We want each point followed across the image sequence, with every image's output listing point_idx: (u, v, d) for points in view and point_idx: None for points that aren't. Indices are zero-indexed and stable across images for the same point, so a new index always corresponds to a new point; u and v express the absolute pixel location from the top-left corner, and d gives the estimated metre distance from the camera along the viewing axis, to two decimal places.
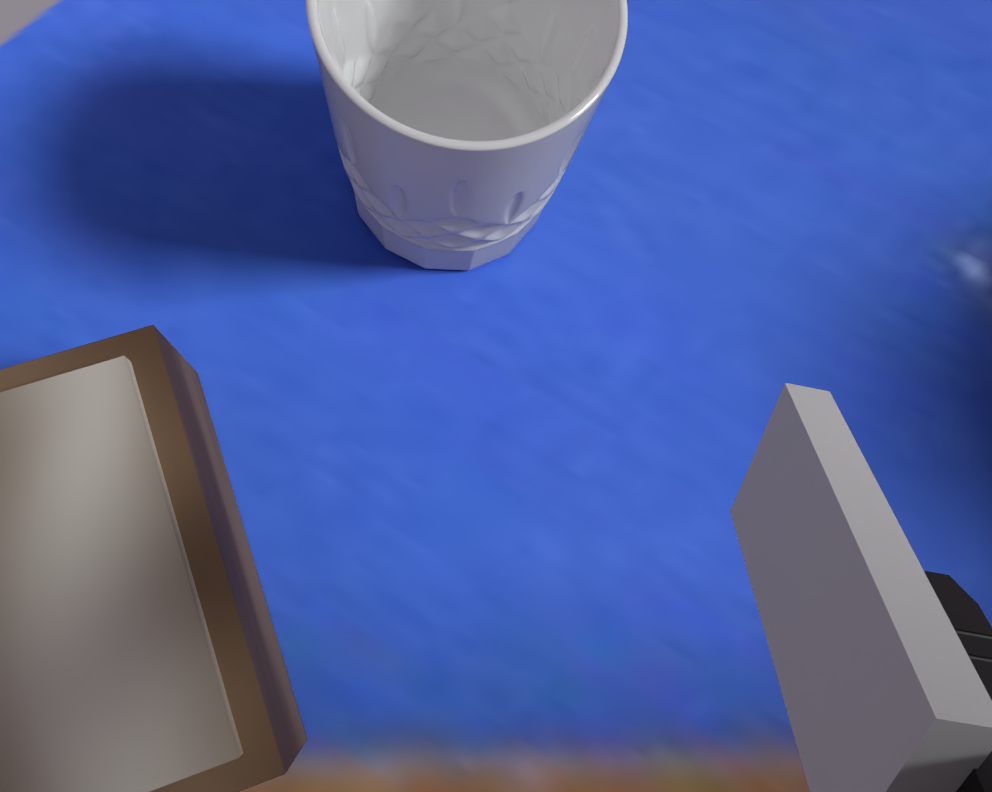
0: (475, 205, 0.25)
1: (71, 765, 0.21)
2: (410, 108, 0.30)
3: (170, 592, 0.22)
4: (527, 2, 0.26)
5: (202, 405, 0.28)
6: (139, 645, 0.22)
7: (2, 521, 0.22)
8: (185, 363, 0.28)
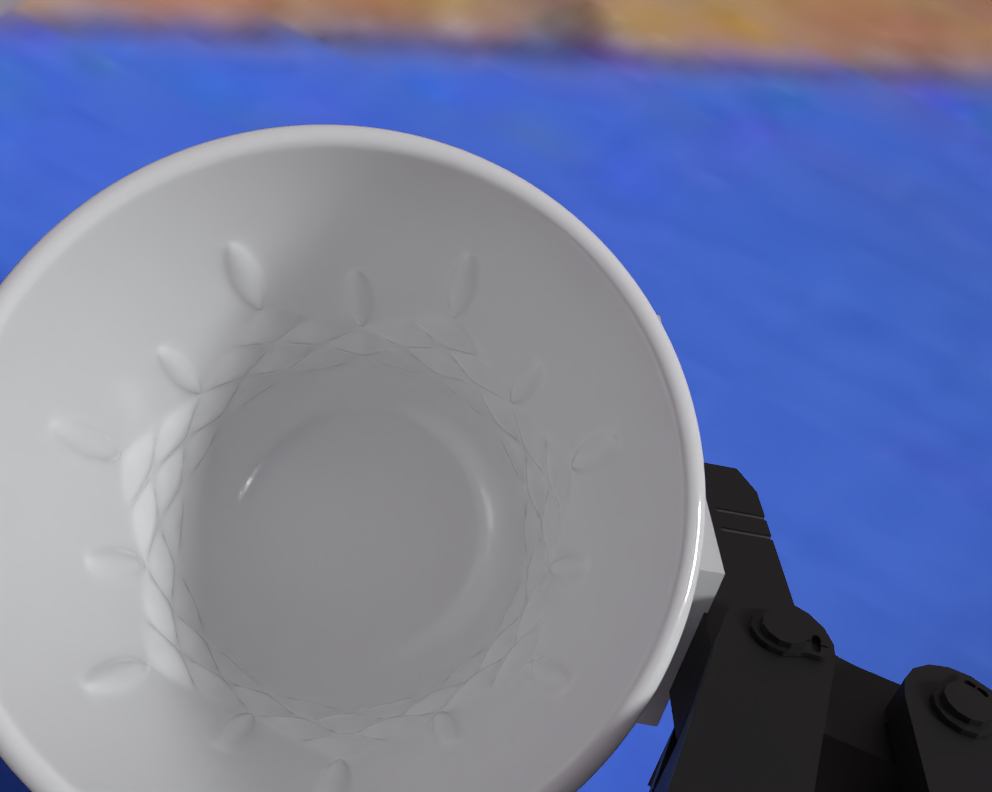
0: None
1: None
2: (288, 442, 0.17)
3: None
4: (486, 325, 0.14)
5: None
6: None
7: None
8: None
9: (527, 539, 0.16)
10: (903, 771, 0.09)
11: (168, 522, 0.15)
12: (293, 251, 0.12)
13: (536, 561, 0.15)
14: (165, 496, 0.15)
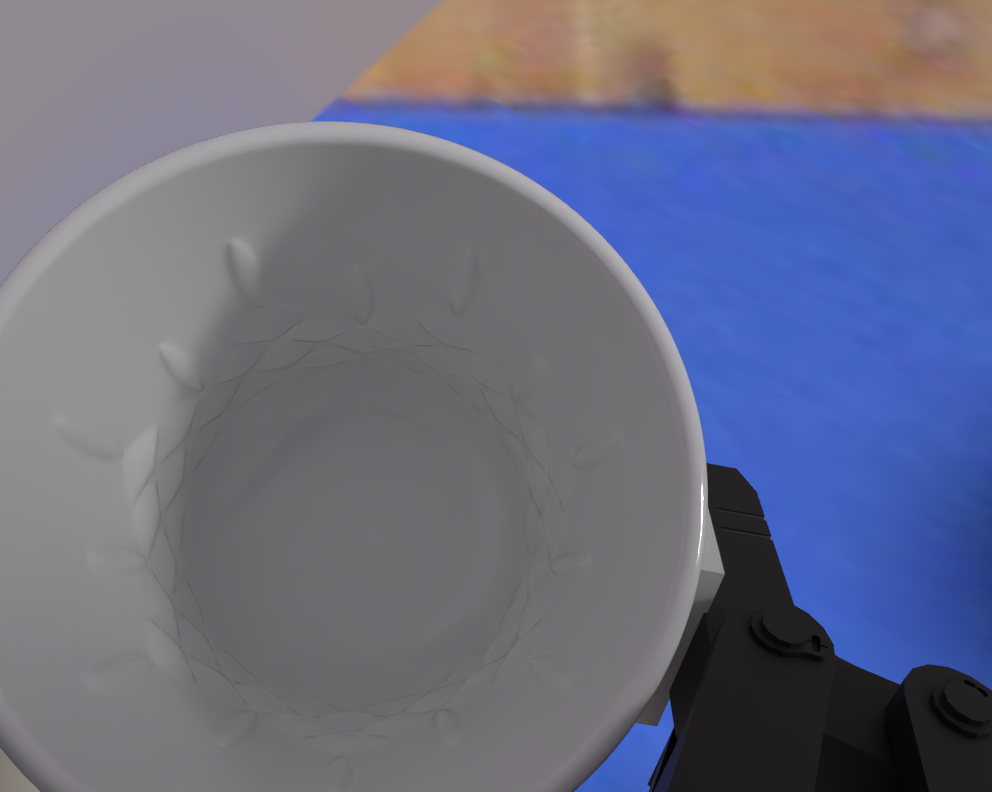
0: None
1: None
2: (290, 440, 0.17)
3: None
4: (487, 322, 0.14)
5: None
6: None
7: None
8: None
9: (528, 536, 0.16)
10: (903, 771, 0.09)
11: (170, 520, 0.15)
12: (295, 248, 0.12)
13: (538, 559, 0.15)
14: (167, 494, 0.15)
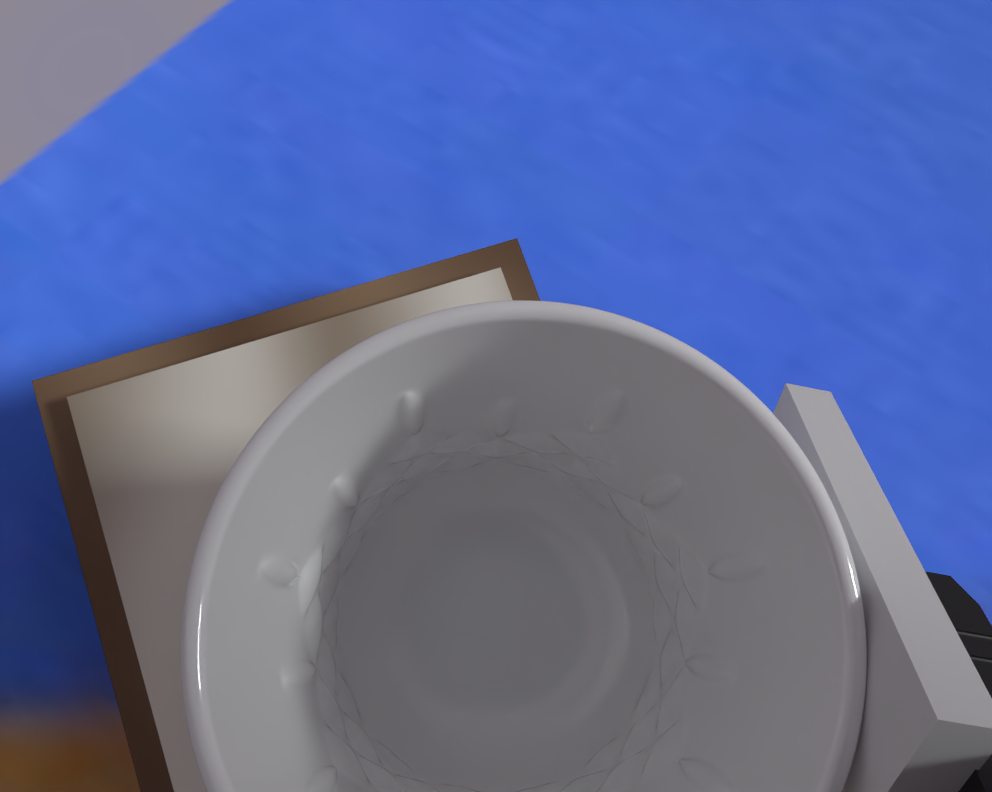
0: None
1: None
2: (425, 537, 0.19)
3: None
4: (624, 442, 0.15)
5: None
6: None
7: None
8: None
9: (657, 627, 0.17)
10: None
11: (328, 622, 0.17)
12: (455, 391, 0.14)
13: (670, 653, 0.16)
14: (326, 600, 0.16)
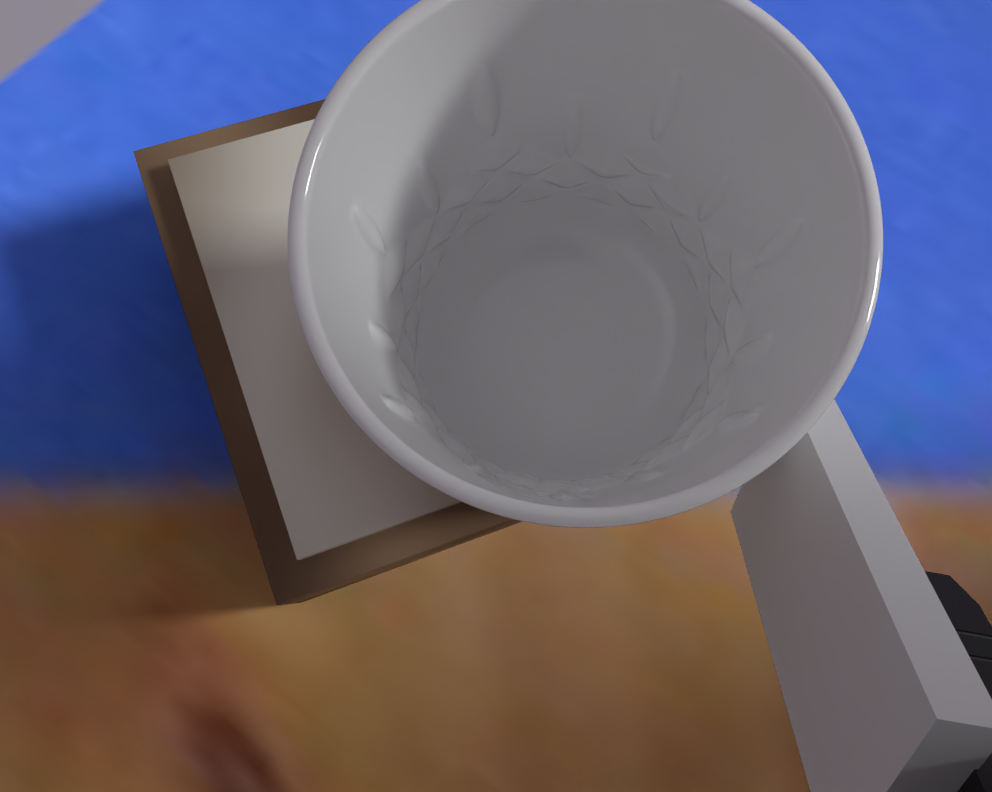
0: None
1: None
2: (499, 267, 0.20)
3: None
4: (683, 143, 0.16)
5: None
6: None
7: None
8: None
9: (707, 346, 0.19)
10: None
11: (409, 324, 0.19)
12: (528, 76, 0.15)
13: (717, 359, 0.18)
14: (408, 300, 0.18)
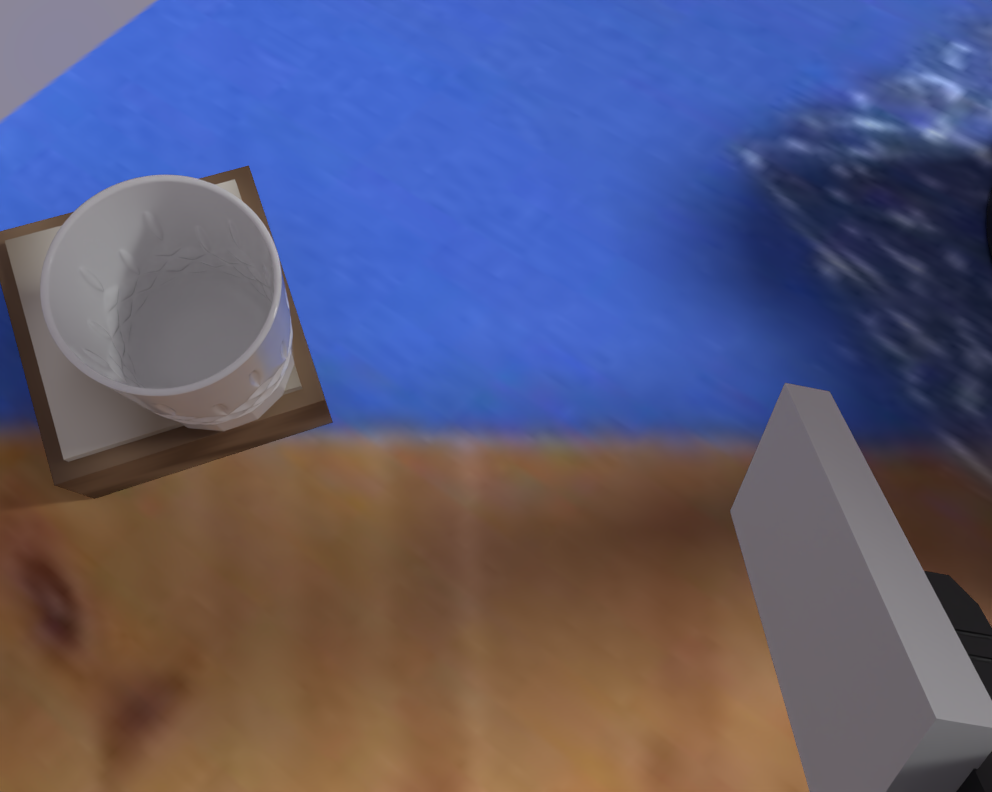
0: (183, 412, 0.33)
1: None
2: (181, 305, 0.39)
3: None
4: (249, 251, 0.35)
5: None
6: None
7: None
8: None
9: None
10: None
11: (123, 328, 0.37)
12: (170, 217, 0.34)
13: None
14: (122, 316, 0.36)
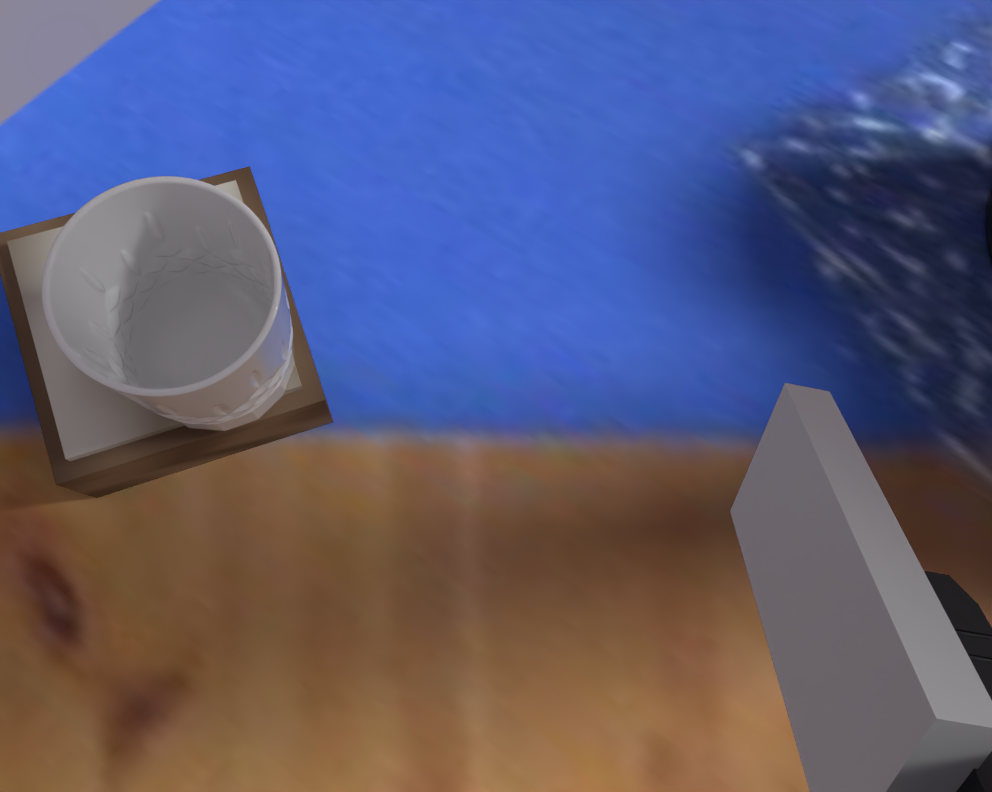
0: (184, 412, 0.33)
1: None
2: (182, 306, 0.39)
3: None
4: (249, 252, 0.35)
5: None
6: None
7: None
8: None
9: None
10: None
11: (125, 329, 0.37)
12: (171, 218, 0.34)
13: None
14: (124, 317, 0.37)
